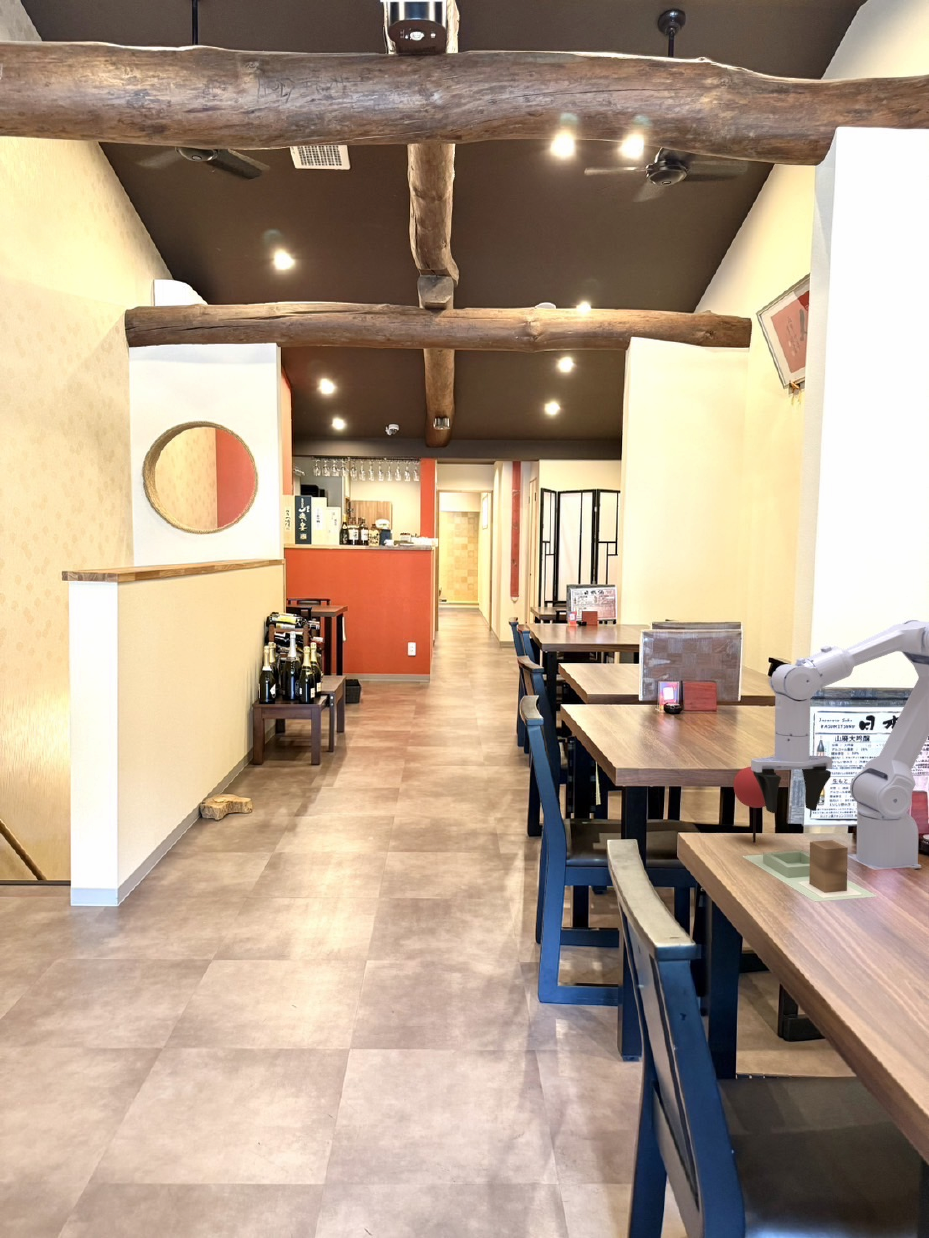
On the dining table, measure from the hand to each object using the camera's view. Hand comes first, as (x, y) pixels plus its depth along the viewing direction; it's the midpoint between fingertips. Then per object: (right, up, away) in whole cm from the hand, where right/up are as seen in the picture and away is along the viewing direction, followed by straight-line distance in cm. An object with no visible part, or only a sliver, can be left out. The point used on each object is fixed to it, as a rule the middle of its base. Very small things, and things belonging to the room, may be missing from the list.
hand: (791, 810), depth 147 cm
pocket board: (0, -10, -6) cm, 12 cm away
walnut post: (+1, -10, -12) cm, 15 cm away
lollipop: (-2, -10, +12) cm, 16 cm away
